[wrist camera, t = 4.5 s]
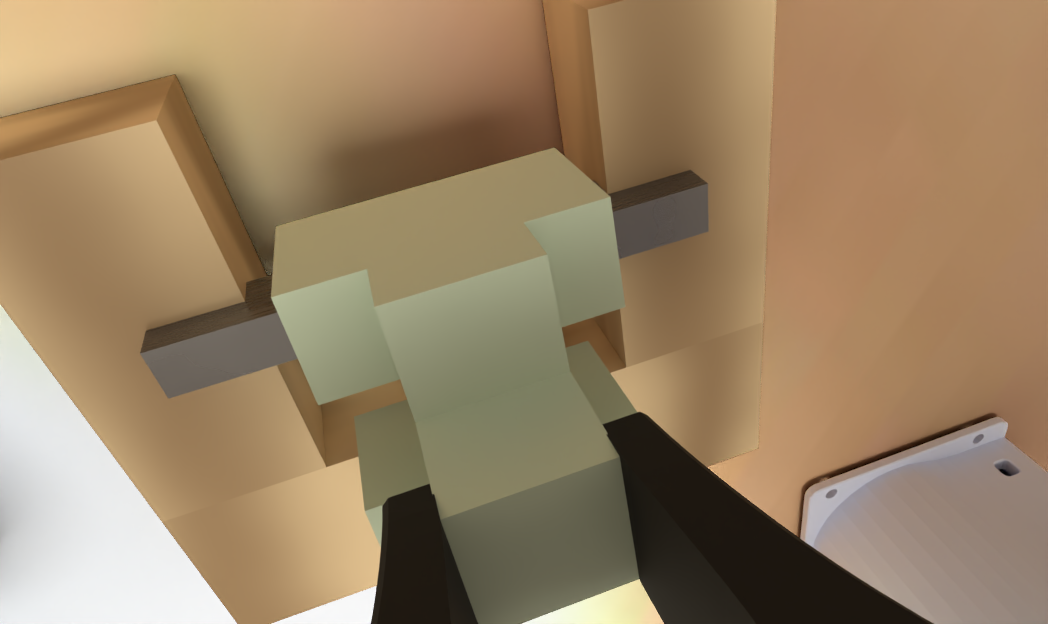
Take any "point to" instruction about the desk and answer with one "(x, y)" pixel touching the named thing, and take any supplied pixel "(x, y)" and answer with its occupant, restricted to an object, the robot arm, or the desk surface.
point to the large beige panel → (329, 429)
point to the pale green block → (477, 369)
